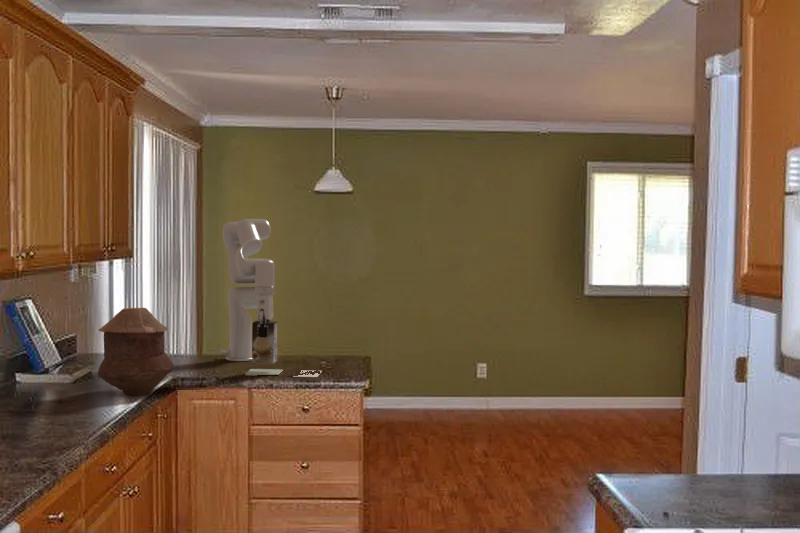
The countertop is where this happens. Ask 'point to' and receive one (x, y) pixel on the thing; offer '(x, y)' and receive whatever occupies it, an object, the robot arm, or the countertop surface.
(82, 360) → the countertop surface
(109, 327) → the pottery vessel
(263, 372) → the green pad
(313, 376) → the card
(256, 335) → the coffee box
